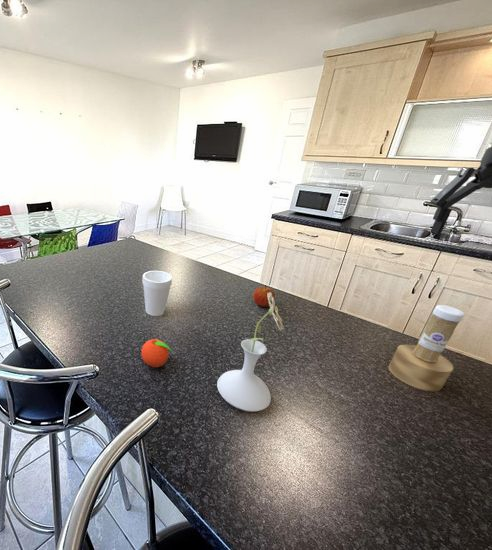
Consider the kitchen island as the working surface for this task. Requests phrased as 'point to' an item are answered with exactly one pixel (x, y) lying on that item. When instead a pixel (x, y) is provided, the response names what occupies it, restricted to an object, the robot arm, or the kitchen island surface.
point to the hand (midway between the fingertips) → (466, 235)
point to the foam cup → (156, 291)
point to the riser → (419, 369)
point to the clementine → (155, 353)
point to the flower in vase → (249, 372)
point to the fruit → (262, 296)
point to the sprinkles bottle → (437, 333)
